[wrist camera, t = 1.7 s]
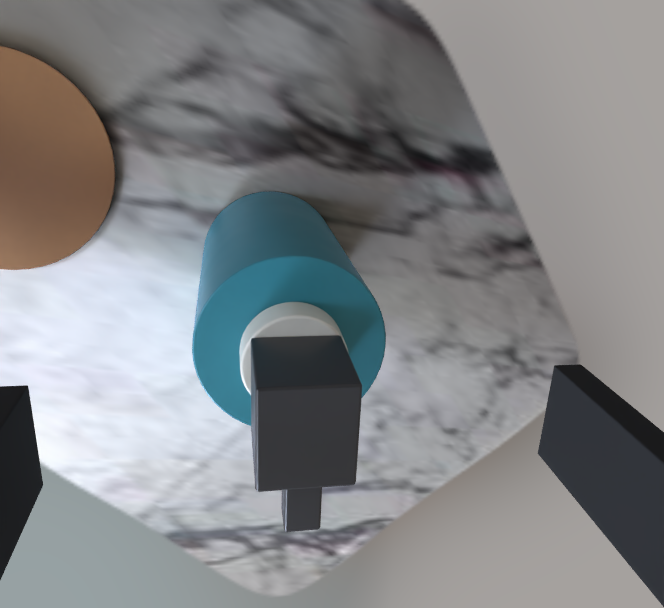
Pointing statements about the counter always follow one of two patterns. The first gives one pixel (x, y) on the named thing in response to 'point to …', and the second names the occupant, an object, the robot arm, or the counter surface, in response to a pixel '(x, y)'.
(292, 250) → the spray bottle
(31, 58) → the coaster
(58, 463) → the counter surface
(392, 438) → the counter surface
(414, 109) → the counter surface
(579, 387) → the robot arm
